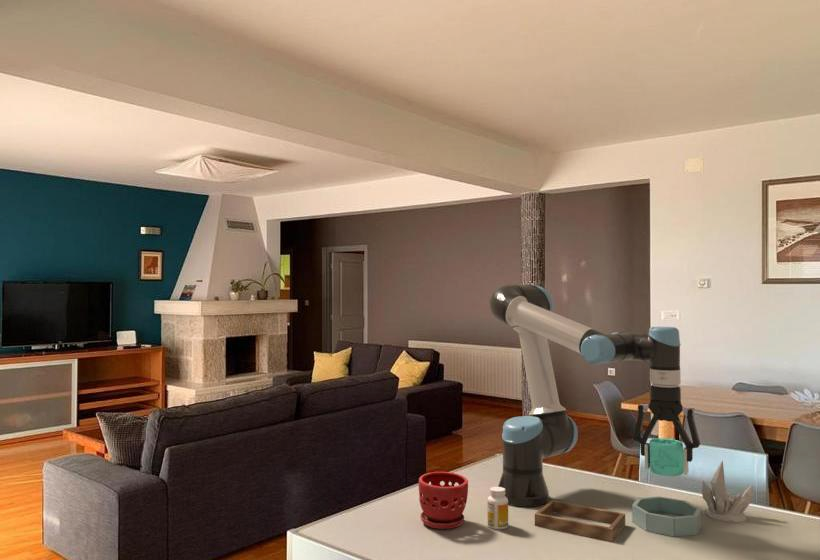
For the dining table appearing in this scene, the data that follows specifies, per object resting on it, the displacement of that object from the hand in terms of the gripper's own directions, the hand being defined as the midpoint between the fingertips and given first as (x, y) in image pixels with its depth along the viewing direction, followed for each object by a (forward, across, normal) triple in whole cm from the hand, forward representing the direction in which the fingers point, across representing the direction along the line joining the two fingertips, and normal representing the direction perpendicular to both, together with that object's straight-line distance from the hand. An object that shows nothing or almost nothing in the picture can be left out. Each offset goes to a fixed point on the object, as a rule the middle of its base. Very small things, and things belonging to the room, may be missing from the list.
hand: (666, 470), depth 166 cm
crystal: (+14, +13, +16) cm, 25 cm away
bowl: (+14, 0, 0) cm, 14 cm away
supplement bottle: (+14, -37, -25) cm, 47 cm away
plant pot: (+14, -50, -31) cm, 61 cm away
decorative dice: (+1, 0, 0) cm, 1 cm away
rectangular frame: (+14, -19, -13) cm, 27 cm away
